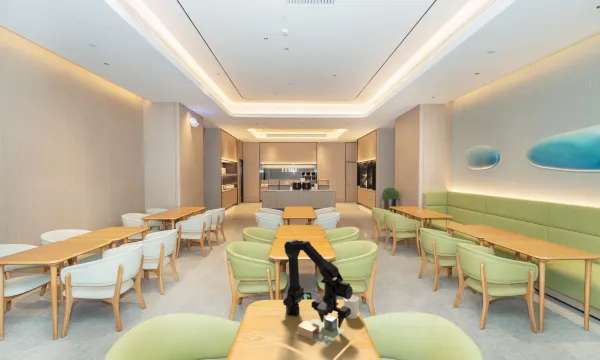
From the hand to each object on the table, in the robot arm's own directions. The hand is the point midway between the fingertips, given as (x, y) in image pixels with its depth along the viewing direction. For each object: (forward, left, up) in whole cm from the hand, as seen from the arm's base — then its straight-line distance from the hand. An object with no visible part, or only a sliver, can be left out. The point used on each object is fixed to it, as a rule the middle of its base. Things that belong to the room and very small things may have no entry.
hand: (330, 325), depth 141 cm
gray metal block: (0, 0, -2) cm, 2 cm away
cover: (-6, -10, -1) cm, 12 cm away
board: (-3, -5, -3) cm, 6 cm away
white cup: (+2, +17, -3) cm, 17 cm away
